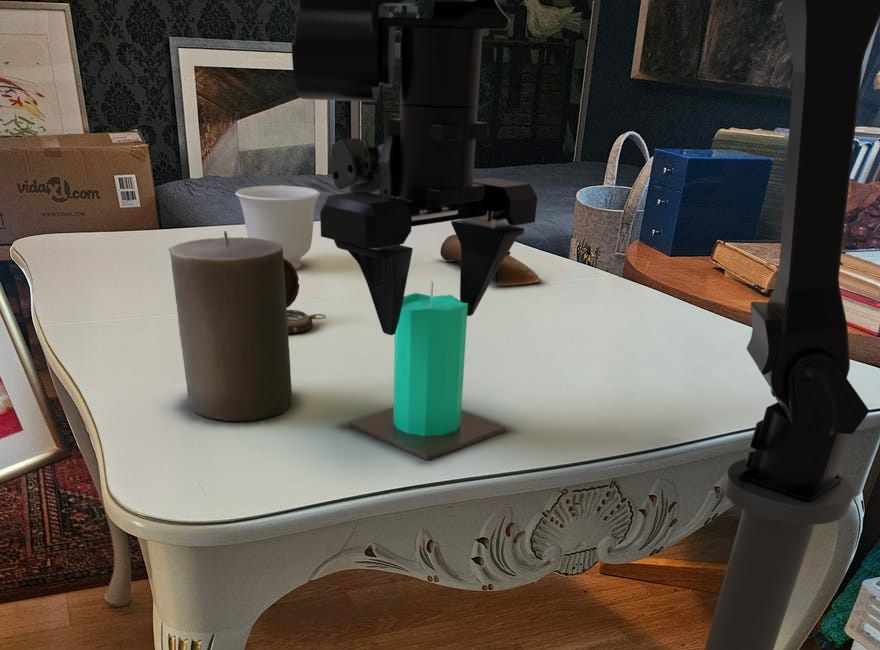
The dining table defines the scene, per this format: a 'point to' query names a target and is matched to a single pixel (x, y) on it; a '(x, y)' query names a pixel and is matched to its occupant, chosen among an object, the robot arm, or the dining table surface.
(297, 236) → the teacup
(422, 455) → the mat
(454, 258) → the sunglasses case
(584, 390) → the dining table surface
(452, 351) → the candle
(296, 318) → the compass
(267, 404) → the pillar candle
